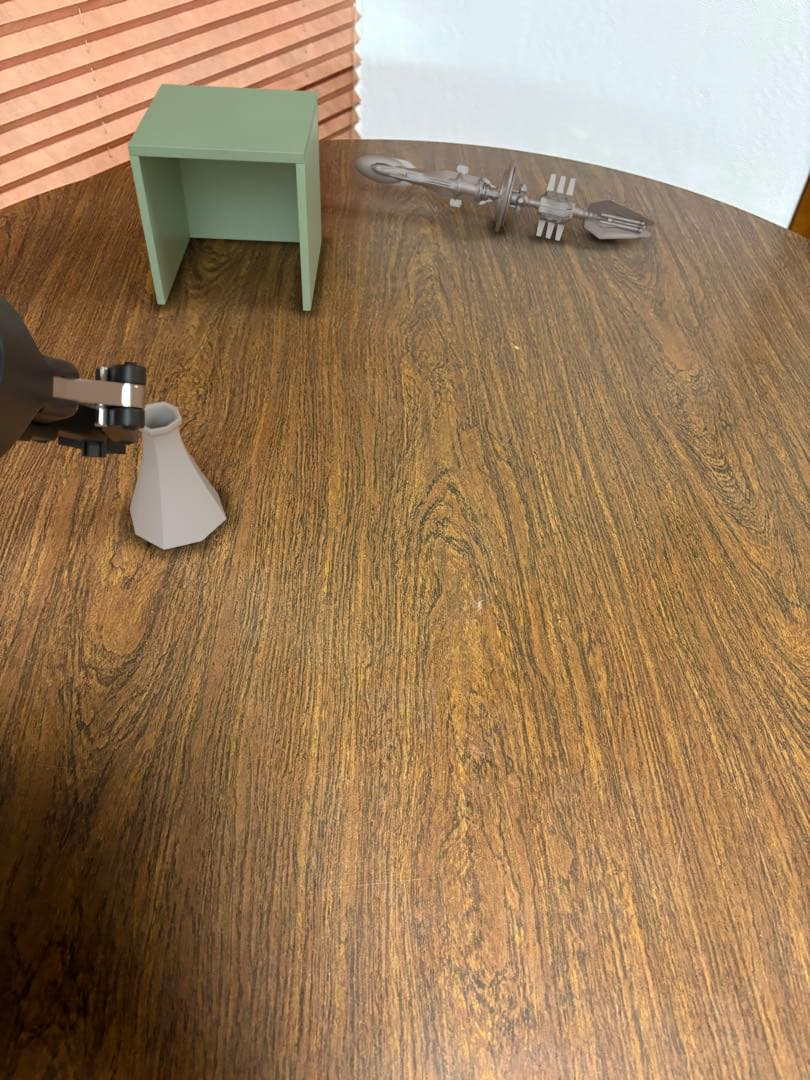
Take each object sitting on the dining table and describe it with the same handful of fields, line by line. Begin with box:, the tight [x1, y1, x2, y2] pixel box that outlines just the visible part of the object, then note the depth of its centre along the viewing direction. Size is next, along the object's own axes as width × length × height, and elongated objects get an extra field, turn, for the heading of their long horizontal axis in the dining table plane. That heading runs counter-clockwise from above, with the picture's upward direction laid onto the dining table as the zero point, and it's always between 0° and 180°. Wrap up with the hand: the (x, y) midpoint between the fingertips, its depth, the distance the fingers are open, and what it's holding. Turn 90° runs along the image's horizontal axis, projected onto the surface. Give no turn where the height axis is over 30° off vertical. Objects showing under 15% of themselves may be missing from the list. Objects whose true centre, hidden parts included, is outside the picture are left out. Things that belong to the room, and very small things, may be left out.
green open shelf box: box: [127, 83, 323, 312], centre depth 87 cm, size 15×16×16 cm
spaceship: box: [354, 153, 655, 242], centre depth 99 cm, size 8×35×8 cm
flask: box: [129, 400, 227, 551], centre depth 64 cm, size 7×7×10 cm
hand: (113, 430), depth 50 cm, fingers closed
